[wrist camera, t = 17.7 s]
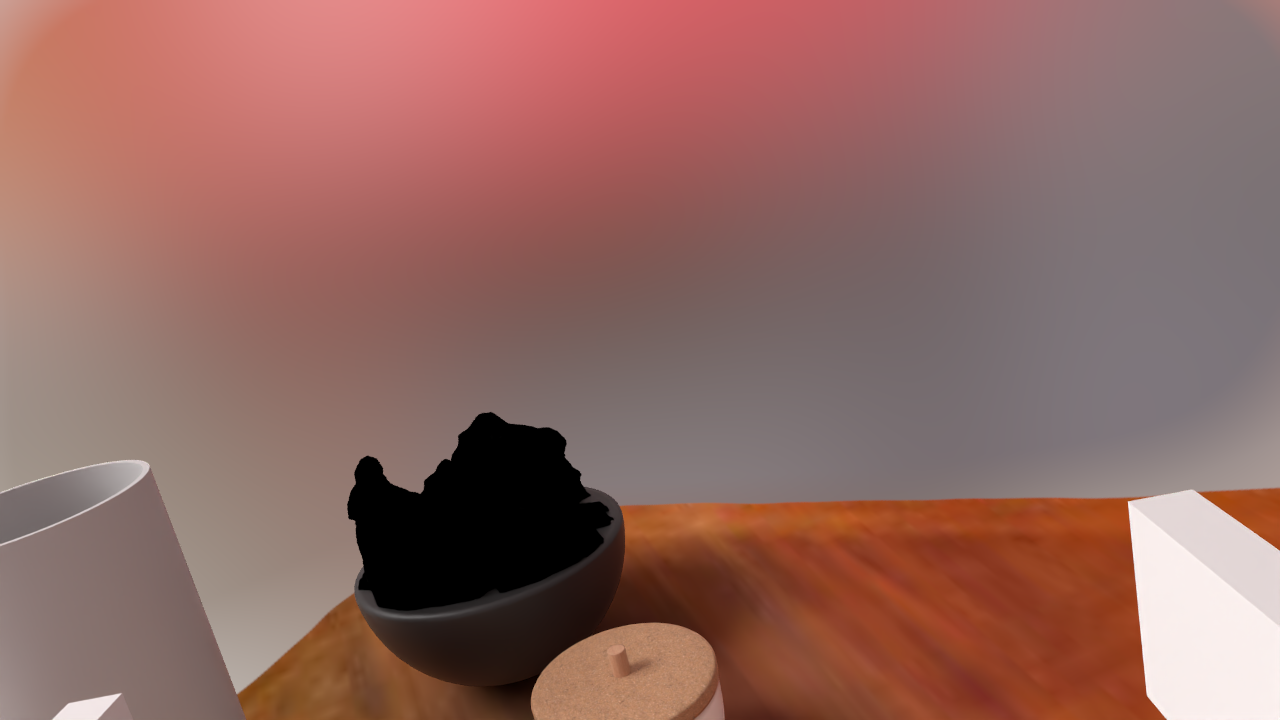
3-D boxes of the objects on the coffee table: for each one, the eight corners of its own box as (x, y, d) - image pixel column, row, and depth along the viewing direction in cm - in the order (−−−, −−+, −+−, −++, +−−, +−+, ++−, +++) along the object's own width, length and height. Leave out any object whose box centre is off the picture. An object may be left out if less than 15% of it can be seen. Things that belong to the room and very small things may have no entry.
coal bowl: (673, 581, 77) (623, 369, 72) (615, 744, 58) (542, 472, 54) (458, 600, 82) (399, 404, 78) (342, 755, 64) (255, 509, 59)
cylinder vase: (19, 1030, 47) (-197, 599, 41) (116, 851, 59) (-39, 497, 53) (265, 954, 48) (91, 524, 42) (311, 794, 60) (181, 442, 54)
